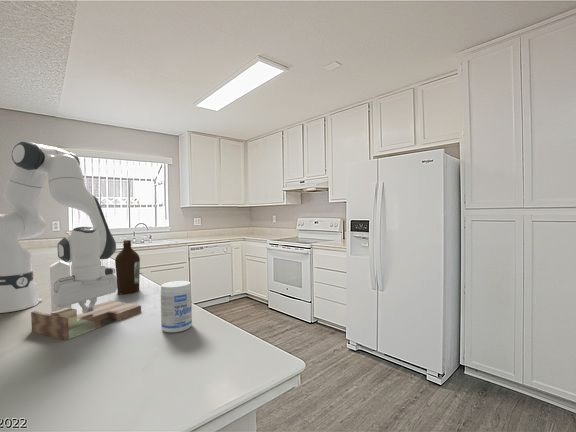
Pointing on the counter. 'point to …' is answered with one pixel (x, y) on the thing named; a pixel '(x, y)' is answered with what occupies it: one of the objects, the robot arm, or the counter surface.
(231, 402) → the counter surface
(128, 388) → the counter surface
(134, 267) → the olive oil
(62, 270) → the milk
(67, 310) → the block
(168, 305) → the supplement tub
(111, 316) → the board
